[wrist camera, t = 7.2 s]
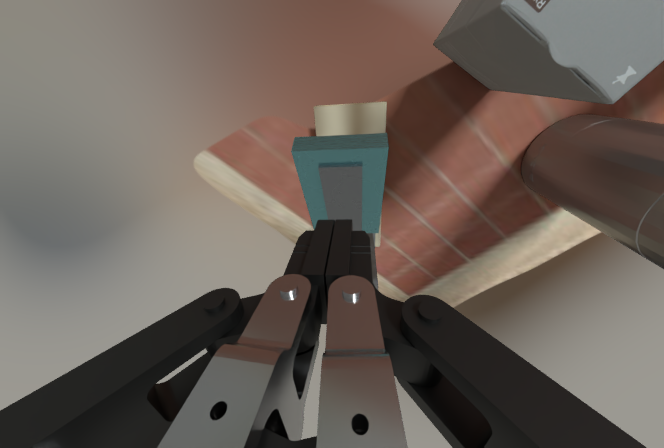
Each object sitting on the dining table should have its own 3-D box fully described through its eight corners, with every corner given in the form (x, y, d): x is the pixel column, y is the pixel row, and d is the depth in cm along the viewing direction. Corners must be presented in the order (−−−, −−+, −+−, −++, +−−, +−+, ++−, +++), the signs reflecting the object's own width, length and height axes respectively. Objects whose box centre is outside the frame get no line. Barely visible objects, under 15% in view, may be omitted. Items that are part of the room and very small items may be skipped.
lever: (375, 123, 21) (389, 134, 12) (372, 277, 29) (378, 362, 19) (320, 126, 22) (289, 139, 12) (330, 276, 29) (316, 359, 19)
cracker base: (385, 101, 27) (403, 112, 16) (379, 240, 36) (387, 307, 25) (315, 105, 28) (287, 119, 17) (327, 240, 37) (314, 305, 26)
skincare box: (544, 26, 22) (829, -63, 9) (482, 98, 26) (619, 115, 12) (479, -37, 21) (705, -263, 7) (422, 49, 24) (502, 6, 11)
